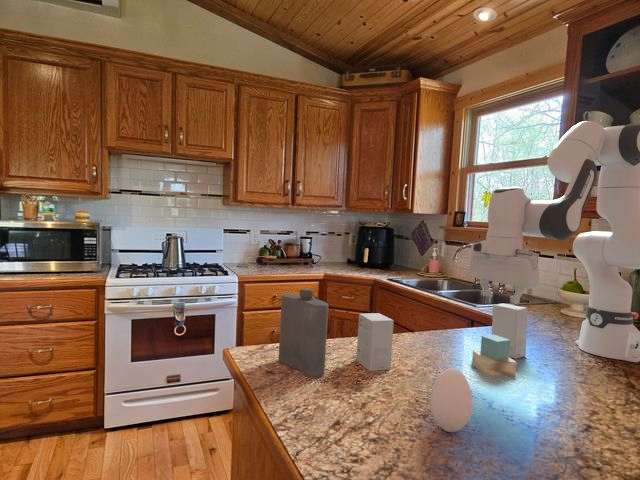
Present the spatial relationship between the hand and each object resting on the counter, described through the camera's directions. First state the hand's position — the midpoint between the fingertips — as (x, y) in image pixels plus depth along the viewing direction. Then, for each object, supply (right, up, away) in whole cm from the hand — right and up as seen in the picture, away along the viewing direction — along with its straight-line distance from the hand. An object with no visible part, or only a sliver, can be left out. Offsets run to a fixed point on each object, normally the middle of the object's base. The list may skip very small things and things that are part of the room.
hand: (499, 299), depth 108 cm
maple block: (-1, -19, +1) cm, 20 cm away
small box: (-34, -18, -1) cm, 38 cm away
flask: (-53, -17, -6) cm, 56 cm away
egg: (-24, -20, -32) cm, 45 cm away
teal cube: (-1, -15, +1) cm, 16 cm away
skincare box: (+9, -19, +15) cm, 26 cm away
